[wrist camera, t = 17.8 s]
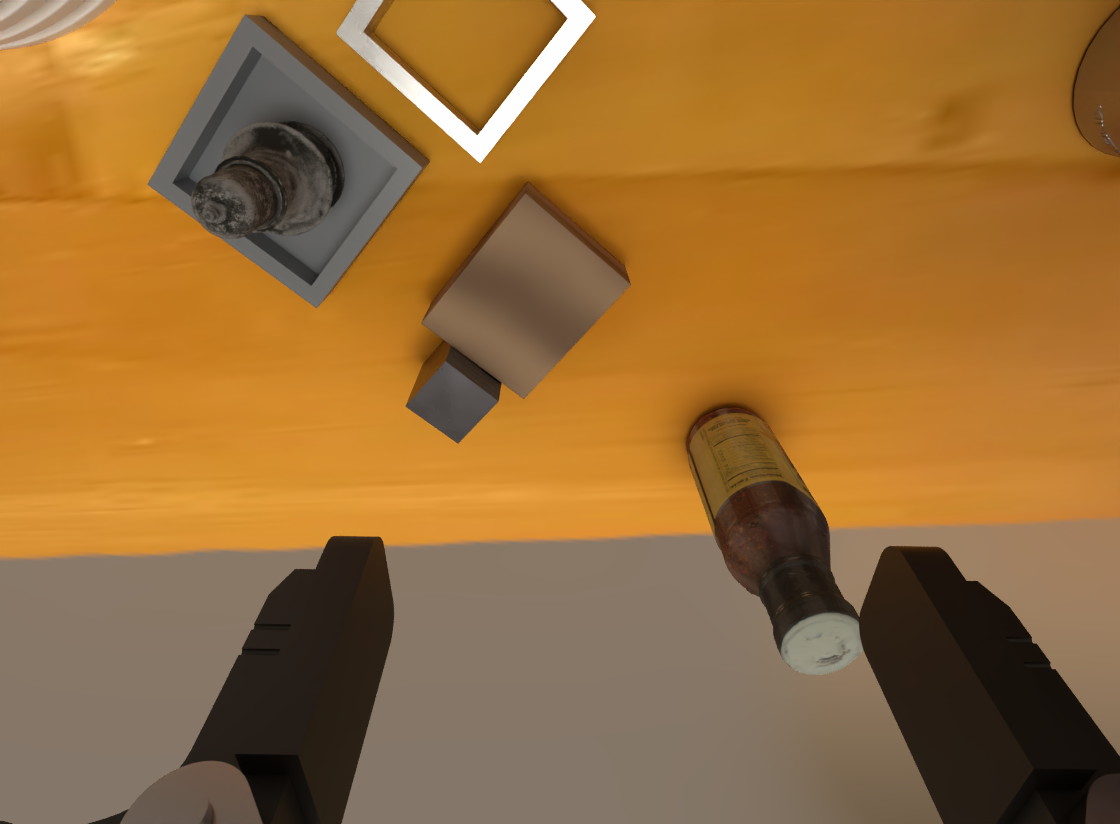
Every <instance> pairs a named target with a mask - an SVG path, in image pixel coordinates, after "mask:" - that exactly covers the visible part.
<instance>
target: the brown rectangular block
mask: <svg viewBox="0 0 1120 824" xmlns="http://www.w3.org/2000/svg"><path fill="white" fill-rule="evenodd" d="M630 285H631V284H630V281H629V277H628V274H627V271H626V268H625V266H624V265H623V264H622V263H620V262H619V261H618V260H617V259H616V258H615V257H614V256H612V255H611V254H610V253H609V252H608V251H607V250H606V249H604V248H603V247H602V246H601V245H600V244H599V243H598V242H596V241H595V240H594V239H593V238H592V237H591V236H590V235H588V234H587V233H586V232H585V231H584V230H583V229H582V228H580V227H579V226H578V225H577V224H576V223H575V222H574V221H572V220H571V219H570V218H569V217H568V216H567V215H566V214H564V213H563V212H562V211H561V210H560V209H559V208H558V207H556V206H555V205H554V204H553V203H552V202H551V201H550V200H548V199H547V198H546V197H545V196H544V195H543V194H542V193H540V192H539V191H538V190H537V189H536V188H535V187H534V186H532V185H531V184H530V183H529V182H527V183H526V185H525V186H524V187H523V188H522V190H521V191H520V192H519V193H518V195H517V196H516V197H515V198H514V200H513V201H512V202H511V204H510V205H509V206H508V207H507V209H506V210H505V211H504V212H503V214H502V215H501V216H500V217H499V219H498V220H497V221H496V222H495V224H494V225H493V226H492V227H491V229H490V230H489V231H488V232H487V234H486V235H485V236H484V237H483V239H482V240H481V241H480V242H479V244H478V245H477V246H476V247H475V249H474V250H473V251H472V252H471V254H470V255H469V256H468V257H467V259H466V260H465V261H464V262H463V264H462V265H461V266H460V267H459V269H458V270H457V271H456V273H455V274H454V275H453V276H452V278H451V279H450V280H449V281H448V283H447V284H446V285H445V286H444V288H443V289H442V290H441V291H440V293H439V294H438V295H437V296H436V298H435V299H434V300H433V301H432V303H431V304H430V307H429V309H428V311H427V313H426V315H425V317H424V319H423V321H422V324H423V325H424V326H426V327H427V328H428V329H430V330H431V331H432V332H434V333H435V334H437V335H438V336H439V337H441V338H442V339H443V340H445V341H446V342H447V343H449V344H450V345H451V346H453V347H454V348H455V349H457V350H458V351H459V352H461V353H462V354H464V355H465V356H466V357H468V358H469V359H470V360H472V361H473V362H474V363H476V364H477V365H478V366H480V367H481V368H482V369H484V370H485V371H487V372H488V373H489V374H491V375H492V376H493V377H495V378H496V379H497V380H499V381H500V382H501V383H503V384H504V385H505V386H507V387H508V388H510V389H511V390H512V391H514V392H515V393H516V394H518V395H519V396H520V397H522V398H523V399H524V398H525V397H526V396H527V395H528V394H529V393H530V392H531V391H532V390H533V389H534V388H535V387H536V386H537V384H538V383H539V382H540V381H541V380H542V379H543V378H544V377H545V376H546V375H547V374H548V373H549V372H550V371H551V369H552V368H553V367H554V366H555V365H556V364H557V363H558V362H559V361H560V360H561V359H562V358H563V357H564V356H565V354H566V353H567V352H568V351H569V350H570V349H571V348H572V347H573V346H574V345H575V344H576V343H577V342H578V341H579V340H580V338H581V337H582V336H583V335H584V334H585V333H586V332H587V331H588V330H589V329H590V328H591V327H592V326H593V325H594V323H595V322H596V321H597V320H598V319H599V318H600V317H601V316H602V315H603V314H604V313H605V312H606V311H607V310H608V308H609V307H610V306H611V305H612V304H613V303H614V302H615V301H616V300H617V299H618V298H619V297H620V296H621V295H622V293H623V292H624V291H625V290H626V289H627V288H628V287H629V286H630Z"/></svg>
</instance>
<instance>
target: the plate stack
mask: <svg viewBox="0 0 1120 824" xmlns="http://www.w3.org/2000/svg"><path fill="white" fill-rule="evenodd" d="M116 1H117V0H0V50H6V49H16V48H22V47H28V46H33V45H37V44H41V43H45V42H48V41H51V40H54V39H57V38H59V37H62V36H64V35H67V34H69V33H71V32H73V31H75V30H77V29H79V28H81V27H82V26H84V25H86V24H87V23H89V22H91V21H92V20H94V19H95V18H96V17H98V16H99V15H100V14H102V13H103V12H104V11H106V10H107V9H108V8H109V7H110V6H111V5H113V4H114V3H115V2H116Z"/></svg>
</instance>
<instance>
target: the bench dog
mask: <svg viewBox="0 0 1120 824" xmlns="http://www.w3.org/2000/svg"><path fill="white" fill-rule="evenodd" d="M500 388H501V382H500V381H499V380H497V379H496V378H495V377H493V376H492V375H491V374H489V373H488V372H487V371H485V370H484V369H482V368H481V367H480V366H478V365H477V364H476V363H474V362H473V361H472V360H470V359H469V358H468V357H466V356H465V355H464V354H462V353H461V352H459V351H458V350H457V349H455V348H454V347H453V346H451V345H450V344H449V343H447V342H446V341H445V340H444V341H443V342H442V343H441V344H440V346H439V347H438V348H437V349H436V350H435V351H434V353H433V354H432V355H431V356H430V357H429V358H428V359H427V361H426V362H425V363H424V364H423V365H422V368H421V370H420V373H419V375H418V378H417V380H416V382H415V385H414V387H413V390H412V392H411V394H410V397H409V399H408V402H407V404H406V407H407V408H409V409H410V410H411V411H413V412H414V413H416V414H417V415H418V416H420V417H421V418H423V419H424V420H425V421H427V422H428V423H430V424H431V425H433V426H434V427H435V428H437V429H438V430H440V431H441V432H442V433H444V434H445V435H447V436H448V437H449V438H451V439H452V440H454V441H455V442H456V443H459V442H460V441H461V440H462V439H463V438H464V437H465V436H466V435H467V434H468V433H469V432H470V431H471V429H472V428H473V427H474V426H475V425H476V424H477V423H478V422H479V421H480V420H481V419H482V418H483V417H484V416H485V415H486V414H487V413H488V412H489V411H490V410H491V409H492V408H493V406H494V405H495V404H496V403H497V402H498V401H499V395H500Z"/></svg>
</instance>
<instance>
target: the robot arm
mask: <svg viewBox="0 0 1120 824" xmlns="http://www.w3.org/2000/svg"><path fill="white" fill-rule="evenodd" d="M1074 112H1075V117H1076V122H1077V125H1078V127H1079V129H1080V131H1081V133H1082V135H1083V137H1084V138H1085V139H1086V140H1087V141H1088V142H1089V143H1090V144H1091V145H1092V146H1093V147H1095V148H1096V149H1098V150H1100V151H1102V152H1103V153H1105V154H1110V155H1114V156H1118V157H1120V8H1119V9H1118V10H1117V11H1116V12H1115V13H1114V14H1113V15H1112V16H1111V18H1110V19H1109V20H1108V21H1107V22H1106V23H1105V25H1104V26H1103V27H1102V28H1101V29H1100V31H1099V32H1098V34H1097V35H1096V37H1095V39H1094V40H1093V42H1092V43H1091V45H1090V47H1089V48H1088V50H1087V52H1086V55H1085V57H1084V59H1083V61H1082V64H1081V66H1080V68H1079V72H1078V76H1077V80H1076V84H1075V88H1074ZM393 623H394V604H393V597H392V591H391V586H390V579H389V573H388V568H387V561H386V555H385V549H384V544H383V541H382V539H381V538H380V537H361V536H333V537H331V538H330V539H329V541H328V542H327V544H326V546H325V549H324V551H323V553H322V555H321V558H320V560H319V562H318V564H317V567H316V569H295V570H294V571H293V572H292V573H291V574H290V575H289V576H287V577H286V578H285V579H284V580H283V581H282V582H281V583H280V584H279V585H278V586H277V587H276V588H275V589H274V590H273V591H272V592H271V593H270V594H269V595H268V598H267V599H266V602H265V603H264V605H263V608H262V609H261V612H260V614H259V616H258V618H257V619H256V621H255V624H254V625H255V626H254V630H251V631H250V634H249V635H248V638H247V640H246V641H245V644H244V646H243V647H242V654H241V655H238V658H237V659H236V661H235V664H234V666H233V667H232V669H231V671H230V673H229V676H228V678H227V680H226V682H225V684H224V686H223V688H222V690H221V692H220V694H219V696H218V698H217V700H216V702H215V704H214V706H213V708H212V710H211V712H210V714H209V716H208V718H207V720H206V722H205V724H204V726H203V728H202V730H201V732H200V734H199V736H198V738H197V740H196V742H195V744H194V746H193V748H192V750H191V751H190V753H189V755H188V756H187V758H186V760H185V761H184V763H183V764H182V765H181V767H180V768H178V769H176V770H174V771H172V772H170V773H169V774H167V775H165V776H163V777H162V778H160V779H159V780H158V781H156V782H155V783H154V784H152V785H151V786H150V787H149V788H147V789H146V790H145V791H144V792H143V793H142V794H141V795H140V796H139V797H138V798H137V800H136V801H135V802H134V803H133V804H132V805H131V807H130V808H129V809H128V810H126V811H123V812H121V813H119V814H117V815H114V816H111V817H108V818H106V819H102V820H99V821H96V822H92V823H89V824H341V823H342V819H343V816H344V812H345V808H346V805H347V801H348V797H349V794H350V790H351V786H352V782H353V778H354V775H355V772H356V768H357V764H358V760H359V757H360V753H361V750H362V745H363V742H364V738H365V735H366V731H367V727H368V724H369V720H370V716H371V712H372V709H373V705H374V702H375V697H376V694H377V691H378V687H379V683H380V679H381V676H382V672H383V669H384V665H385V661H386V658H387V654H388V650H389V646H390V643H391V638H392V631H393ZM859 633H860V639H861V643H862V647H863V650H864V652H865V655H866V657H867V659H868V661H869V663H870V665H871V668H872V669H873V672H874V674H875V676H876V678H877V681H878V683H879V685H880V687H881V689H882V691H883V694H884V696H885V698H886V700H887V702H888V704H889V706H890V709H891V711H892V713H893V715H894V717H895V720H896V722H897V724H898V726H899V728H900V730H901V733H902V735H903V737H904V739H905V741H906V743H907V746H908V748H909V750H910V752H911V754H912V756H913V759H914V761H915V763H916V765H917V767H918V769H919V772H920V774H921V776H922V778H923V780H924V782H925V785H926V787H927V789H928V791H929V793H930V795H931V798H932V800H933V802H934V804H935V806H936V808H937V810H938V813H939V815H940V817H941V819H942V821H943V823H944V824H1120V756H1119V755H1118V754H1117V752H1116V751H1115V749H1114V748H1113V747H1112V745H1111V744H1110V743H1109V741H1108V740H1107V739H1106V737H1105V736H1104V735H1103V733H1102V732H1101V730H1100V729H1099V728H1098V726H1097V725H1096V724H1095V723H1094V721H1093V720H1092V718H1091V717H1090V716H1089V714H1088V713H1087V711H1086V710H1085V709H1084V707H1083V706H1082V705H1081V703H1080V702H1079V701H1078V699H1077V698H1076V697H1075V695H1074V694H1073V693H1072V691H1071V690H1070V688H1069V687H1068V686H1067V684H1066V683H1065V682H1064V680H1063V679H1062V678H1061V676H1060V675H1059V673H1058V672H1057V671H1056V669H1051V666H1050V661H1049V660H1048V658H1047V657H1046V656H1045V654H1044V653H1043V652H1042V650H1041V649H1040V648H1039V646H1038V645H1037V644H1033V643H1032V637H1031V635H1030V634H1029V633H1028V632H1027V630H1026V629H1025V627H1024V626H1023V625H1022V623H1021V622H1020V620H1019V619H1018V618H1017V616H1016V615H1015V614H1014V612H1013V611H1012V610H1011V608H1010V607H1009V606H1008V605H1006V604H1005V603H1004V602H1003V601H1001V600H1000V599H999V598H998V597H996V596H995V595H994V594H992V593H991V592H990V591H989V590H988V589H987V588H985V587H984V586H982V585H981V584H980V583H979V582H978V581H966V580H965V578H964V577H963V575H962V574H961V572H960V571H959V569H958V568H957V567H956V565H955V564H954V562H953V561H952V559H951V558H950V557H949V555H948V554H947V553H946V552H945V551H944V550H943V549H941V548H939V547H912V546H889V547H887V548H885V549H884V551H883V552H882V554H881V556H880V559H879V562H878V565H877V567H876V570H875V573H874V575H873V578H872V581H871V584H870V586H869V589H868V592H867V595H866V598H865V600H864V603H863V606H862V608H861V612H860V617H859ZM0 824H12V823H8V822H5V821H0Z"/></svg>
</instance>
